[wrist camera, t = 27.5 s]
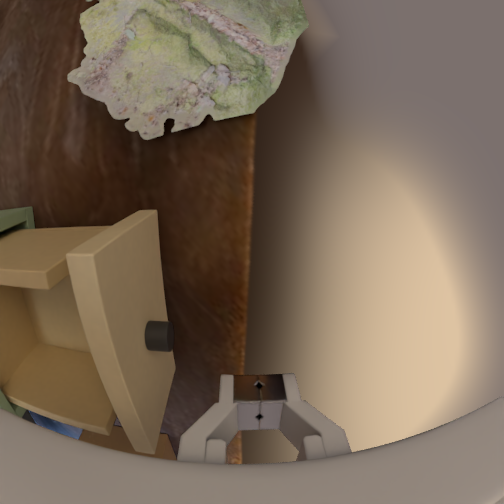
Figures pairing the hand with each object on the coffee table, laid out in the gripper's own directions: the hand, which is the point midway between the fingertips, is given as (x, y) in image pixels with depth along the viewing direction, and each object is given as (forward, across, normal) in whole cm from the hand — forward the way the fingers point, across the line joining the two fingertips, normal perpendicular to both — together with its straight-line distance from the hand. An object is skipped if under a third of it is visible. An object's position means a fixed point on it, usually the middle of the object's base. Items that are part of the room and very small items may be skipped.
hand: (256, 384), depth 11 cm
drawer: (+7, +11, 0) cm, 13 cm away
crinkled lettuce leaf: (+4, +1, -24) cm, 25 cm away
